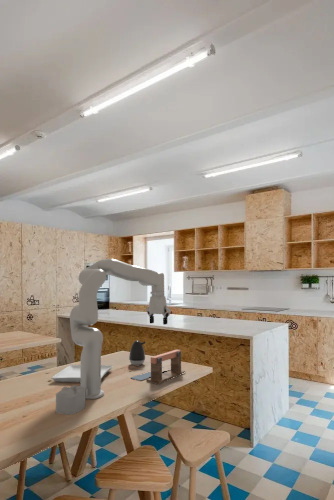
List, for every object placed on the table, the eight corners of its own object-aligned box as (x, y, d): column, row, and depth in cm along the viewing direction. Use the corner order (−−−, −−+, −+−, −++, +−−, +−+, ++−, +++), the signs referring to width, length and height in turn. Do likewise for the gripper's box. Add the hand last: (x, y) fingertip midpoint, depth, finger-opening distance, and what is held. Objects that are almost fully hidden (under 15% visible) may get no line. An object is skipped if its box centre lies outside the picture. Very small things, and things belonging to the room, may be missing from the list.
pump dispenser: (144, 366, 211) (144, 341, 212) (128, 366, 211) (128, 342, 213) (146, 362, 221) (146, 339, 223) (130, 362, 222) (130, 339, 223)
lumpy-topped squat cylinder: (52, 412, 141) (52, 391, 142) (71, 401, 153) (71, 381, 154) (73, 415, 137) (73, 393, 138) (90, 404, 150) (91, 384, 150)
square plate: (113, 371, 204) (113, 364, 204) (100, 385, 176) (100, 377, 177) (70, 370, 206) (70, 363, 207) (50, 384, 179) (50, 376, 179)
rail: (154, 363, 179) (154, 358, 179) (150, 363, 181) (150, 357, 181) (180, 355, 198) (180, 350, 198) (176, 354, 200) (176, 349, 200)
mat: (141, 381, 182) (141, 380, 182) (130, 378, 187) (130, 377, 187) (171, 369, 203) (171, 369, 203) (160, 367, 208) (160, 367, 208)
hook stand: (158, 384, 176) (158, 359, 177) (146, 381, 181) (146, 357, 182) (185, 373, 196) (184, 351, 197) (174, 371, 201) (173, 349, 202)
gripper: (142, 294, 198) (142, 323, 197) (166, 294, 188) (166, 325, 187) (150, 293, 204) (150, 321, 203) (173, 293, 195) (174, 323, 193)
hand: (158, 323), depth 195 cm, fingers open, 9 cm apart
